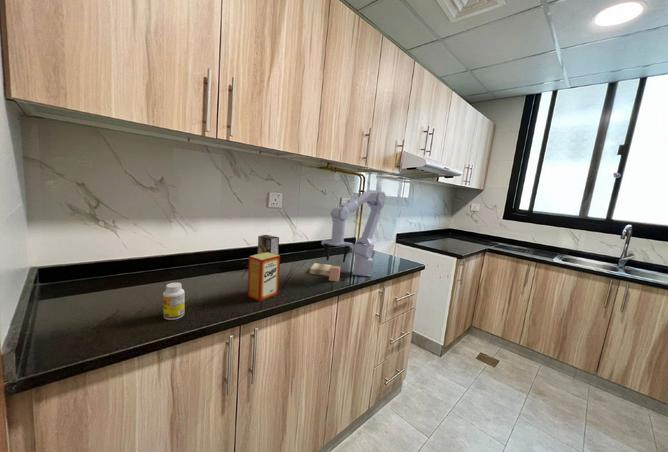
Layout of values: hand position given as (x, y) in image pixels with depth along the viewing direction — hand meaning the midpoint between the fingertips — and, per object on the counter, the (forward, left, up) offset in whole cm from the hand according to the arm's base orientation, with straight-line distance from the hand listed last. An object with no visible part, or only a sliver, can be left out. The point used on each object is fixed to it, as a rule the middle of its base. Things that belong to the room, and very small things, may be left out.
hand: (335, 260), depth 122 cm
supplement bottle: (+43, +50, -9) cm, 67 cm away
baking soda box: (+24, +27, -9) cm, 37 cm away
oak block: (+8, -9, -10) cm, 15 cm away
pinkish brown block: (0, 0, -9) cm, 9 cm away
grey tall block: (+36, -6, -9) cm, 38 cm away
